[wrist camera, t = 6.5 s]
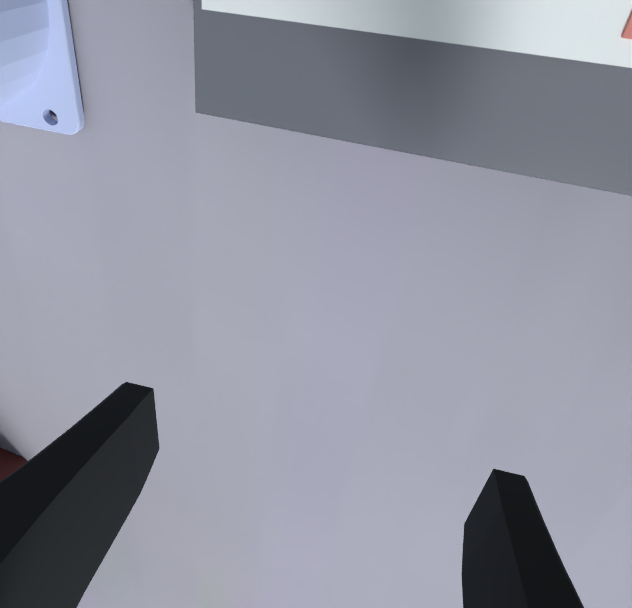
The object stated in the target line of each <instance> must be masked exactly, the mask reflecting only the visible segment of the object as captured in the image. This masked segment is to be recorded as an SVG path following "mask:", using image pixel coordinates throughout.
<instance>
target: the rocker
mask: <svg viewBox="0 0 632 608" xmlns="http://www.w3.org/2000/svg"><path fill="white" fill-rule="evenodd" d="M202 9H204V10H211V11H218V12H226V13H233V14H240V15H248V16H255V17H262V18H270V19H277V20H284V21H292V22H299V23H306V24H314V25H321V26H328V27H335V28H343V29H350V30H357V31H365V32H372V33H379V34H387V35H394V36H401V37H409V38H416V39H423V40H431V41H438V42H445V43H453V44H460V45H467V46H475V47H482V48H489V49H497V50H504V51H511V52H519V53H526V54H533V55H540V56H548V57H555V58H562V59H570V60H577V61H584V62H592V63H599V64H606V65H614V66H621V67H628V68H632V0H202Z"/></svg>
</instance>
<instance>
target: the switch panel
mask: <svg viewBox="0 0 632 608" xmlns="http://www.w3.org/2000/svg"><path fill="white" fill-rule="evenodd" d="M194 49H195V104H196V113H201V114H207V115H212V116H217V117H222V118H228V119H233V120H238V121H243V122H248V123H254V124H259V125H264V126H269V127H275V128H280V129H285V130H290V131H295V132H301V133H306V134H311V135H316V136H322V137H327V138H332V139H337V140H342V141H348V142H353V143H358V144H363V145H369V146H374V147H379V148H384V149H389V150H395V151H400V152H405V153H410V154H416V155H421V156H426V157H431V158H436V159H442V160H447V161H452V162H457V163H463V164H468V165H473V166H478V167H483V168H489V169H494V170H499V171H504V172H510V173H515V174H520V175H525V176H530V177H536V178H541V179H546V180H551V181H556V182H562V183H567V184H572V185H577V186H583V187H588V188H593V189H598V190H603V191H609V192H614V193H619V194H624V195H630V196H632V68H628V67H621V66H614V65H606V64H599V63H592V62H584V61H577V60H570V59H562V58H555V57H548V56H540V55H533V54H526V53H519V52H511V51H504V50H497V49H489V48H482V47H475V46H467V45H460V44H453V43H445V42H438V41H431V40H423V39H416V38H409V37H401V36H394V35H387V34H379V33H372V32H365V31H357V30H350V29H343V28H335V27H328V26H321V25H314V24H306V23H299V22H292V21H284V20H277V19H270V18H262V17H255V16H248V15H240V14H233V13H226V12H218V11H211V10H204V9H202V0H194Z"/></svg>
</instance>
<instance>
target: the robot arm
mask: <svg viewBox="0 0 632 608" xmlns="http://www.w3.org/2000/svg"><path fill="white" fill-rule="evenodd" d="M50 110H51V111H53V112H54V113H55V114H56V115H57V118H58V121H56V120H54V119H53V118H52V116H51V114H50ZM0 121H2V122H7V123H12V124H17V125H22V126H27V127H32V128H37V129H42V130H47V131H52V132H57V133H62V134H67V135H73V134H75V133H77V132H78V131H80V130H82V128H83V126H84V114H83V107H82V100H81V93H80V86H79V79H78V72H77V66H76V59H75V52H74V45H73V38H72V31H71V24H70V17H69V11H68V4H67V0H0ZM158 451H159V440H158V430H157V420H156V410H155V401H154V391H153V388H150V387H145V386H141V385H137V384H133V383H128V382H126V383H124V384H122V385H121V386H120V387H118V388H117V389H116V390H115V391H114V392H113V393H111V394H110V395H109V396H108V397H107V398H106V399H104V400H103V401H102V402H101V403H100V404H99V405H97V406H96V407H95V408H94V409H93V410H91V411H90V412H89V413H88V414H87V415H86V416H84V417H83V418H82V419H81V420H79V421H78V422H77V423H76V424H75V425H73V426H72V427H71V428H70V429H69V430H67V431H66V432H65V433H64V434H62V435H61V436H60V437H59V438H57V439H56V440H55V441H53V442H52V443H51V444H50V445H48V446H47V447H46V448H45V449H43V450H42V451H41V452H40V453H38V454H37V455H36V456H34V457H33V458H32V459H31V460H29V461H28V462H27V463H25V464H24V465H22V466H21V467H20V468H18V469H17V470H16V471H14V472H13V473H11V474H10V475H9V476H7V477H6V478H5V479H3V480H2V481H0V608H76V607H77V606H78V604H79V602H80V600H81V598H82V596H83V594H84V592H85V590H86V589H87V587H88V585H89V583H90V581H91V580H92V578H93V576H94V574H95V573H96V571H97V569H98V567H99V566H100V564H101V562H102V560H103V559H104V557H105V555H106V553H107V552H108V550H109V548H110V546H111V545H112V543H113V541H114V539H115V538H116V536H117V534H118V532H119V531H120V529H121V527H122V525H123V523H124V522H125V520H126V518H127V516H128V515H129V513H130V511H131V509H132V507H133V506H134V504H135V502H136V500H137V498H138V497H139V495H140V493H141V491H142V488H143V486H144V484H145V482H146V479H147V477H148V475H149V472H150V470H151V468H152V465H153V463H154V460H155V458H156V455H157V453H158ZM462 590H463V608H584V607H583V605H582V603H581V601H580V598H579V596H578V594H577V592H576V590H575V588H574V586H573V584H572V582H571V580H570V578H569V576H568V574H567V572H566V569H565V567H564V565H563V563H562V561H561V559H560V556H559V554H558V552H557V550H556V548H555V545H554V543H553V541H552V539H551V536H550V534H549V532H548V529H547V527H546V525H545V522H544V520H543V518H542V515H541V513H540V510H539V508H538V506H537V503H536V501H535V498H534V496H533V493H532V491H531V488H530V486H529V483H528V481H527V479H526V478H525V476H522V475H518V474H513V473H509V472H505V471H501V470H496V469H493V471H492V473H491V475H490V476H489V478H488V480H487V482H486V484H485V486H484V488H483V490H482V492H481V493H480V495H479V497H478V499H477V501H476V503H475V505H474V507H473V509H472V510H471V512H470V514H469V516H468V518H467V520H466V522H465V524H464V540H463V558H462Z"/></svg>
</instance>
